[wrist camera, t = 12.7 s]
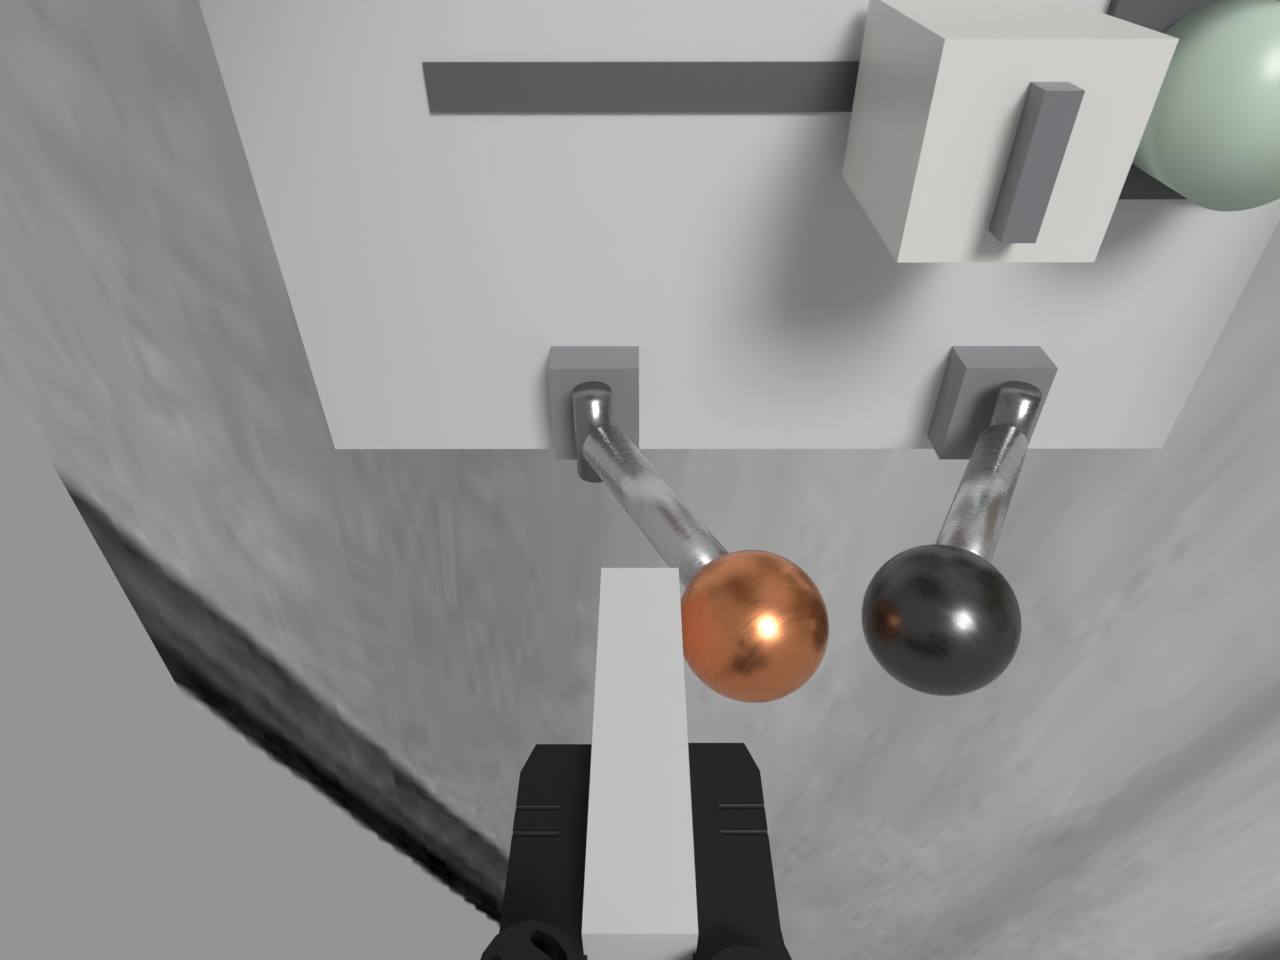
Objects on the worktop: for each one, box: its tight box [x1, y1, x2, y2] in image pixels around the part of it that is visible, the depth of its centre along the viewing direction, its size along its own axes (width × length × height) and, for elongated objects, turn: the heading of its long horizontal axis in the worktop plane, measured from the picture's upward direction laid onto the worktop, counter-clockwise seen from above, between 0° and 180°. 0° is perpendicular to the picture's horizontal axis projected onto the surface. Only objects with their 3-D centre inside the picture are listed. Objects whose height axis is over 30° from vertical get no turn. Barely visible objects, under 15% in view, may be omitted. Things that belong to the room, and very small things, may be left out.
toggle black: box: [861, 381, 1043, 696], centre depth 18 cm, size 3×3×10 cm
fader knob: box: [842, 0, 1179, 263], centre depth 15 cm, size 4×4×6 cm
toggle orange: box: [572, 381, 829, 703], centre depth 18 cm, size 3×3×10 cm
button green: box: [1132, 0, 1280, 212], centre depth 16 cm, size 4×4×2 cm
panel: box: [199, 0, 1280, 460], centre depth 21 cm, size 12×25×5 cm, turn 90°
